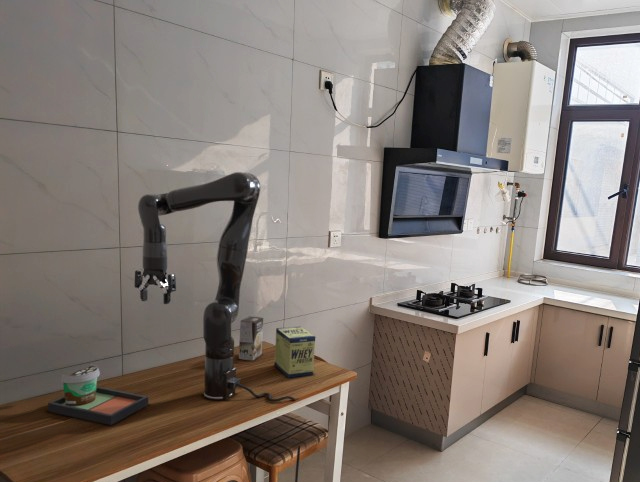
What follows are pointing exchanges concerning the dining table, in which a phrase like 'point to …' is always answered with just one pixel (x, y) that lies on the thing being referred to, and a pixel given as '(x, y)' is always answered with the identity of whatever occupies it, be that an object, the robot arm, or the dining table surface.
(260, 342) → the coffee box
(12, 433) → the dining table surface
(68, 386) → the food container
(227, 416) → the dining table surface
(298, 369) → the protein box
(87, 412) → the sorting tray
